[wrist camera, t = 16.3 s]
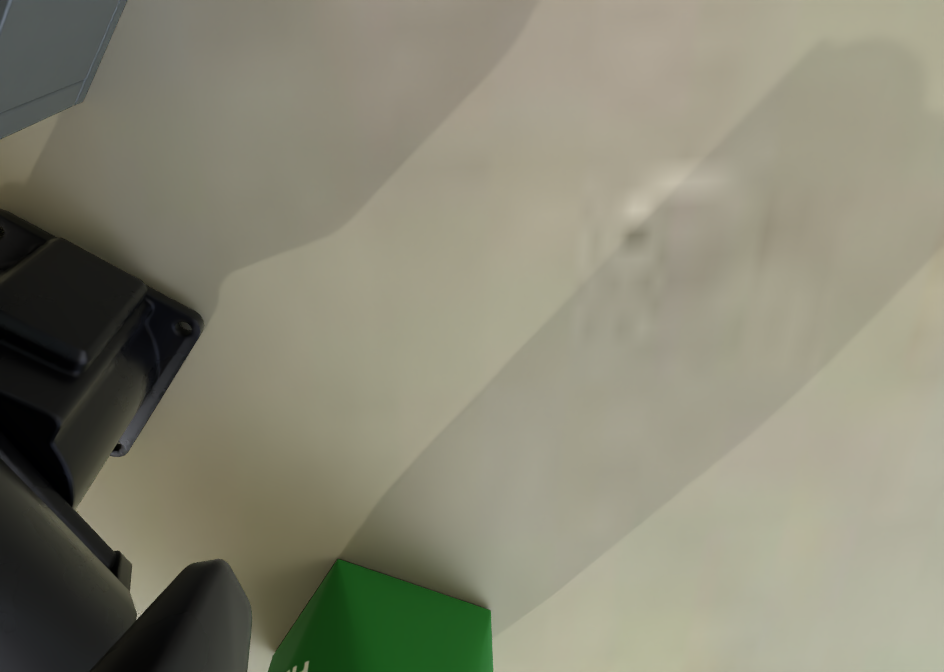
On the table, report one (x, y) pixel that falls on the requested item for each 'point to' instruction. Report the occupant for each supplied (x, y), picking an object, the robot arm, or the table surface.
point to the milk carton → (384, 628)
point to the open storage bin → (50, 55)
